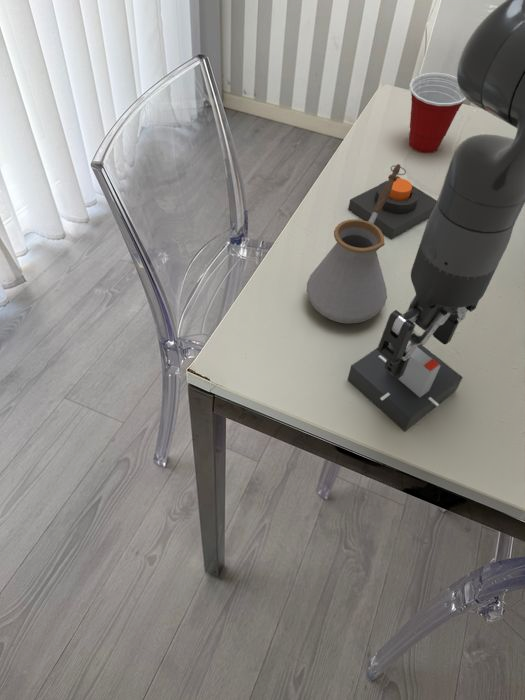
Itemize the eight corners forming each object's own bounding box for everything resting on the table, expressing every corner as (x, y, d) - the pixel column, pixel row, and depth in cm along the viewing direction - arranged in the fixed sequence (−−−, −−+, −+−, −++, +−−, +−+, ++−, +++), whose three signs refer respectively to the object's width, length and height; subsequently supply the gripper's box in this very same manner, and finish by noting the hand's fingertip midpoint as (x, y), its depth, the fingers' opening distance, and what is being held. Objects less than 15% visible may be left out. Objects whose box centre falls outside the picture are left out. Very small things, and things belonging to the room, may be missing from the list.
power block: (394, 186, 103) (399, 166, 100) (437, 213, 98) (444, 194, 95) (347, 210, 98) (351, 190, 94) (390, 240, 93) (396, 220, 90)
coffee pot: (366, 345, 78) (390, 262, 66) (291, 315, 81) (301, 230, 69) (413, 256, 90) (440, 173, 79) (346, 233, 93) (363, 150, 82)
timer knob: (386, 369, 71) (395, 342, 67) (396, 362, 72) (405, 335, 68) (419, 398, 69) (431, 371, 65) (429, 390, 70) (441, 364, 66)
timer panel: (398, 344, 78) (403, 329, 76) (461, 395, 73) (469, 380, 71) (342, 382, 74) (346, 367, 71) (405, 440, 68) (411, 426, 66)
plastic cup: (386, 148, 111) (400, 87, 102) (409, 126, 117) (425, 66, 108) (437, 167, 107) (456, 106, 98) (459, 144, 113) (479, 84, 104)
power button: (396, 184, 97) (399, 175, 95) (414, 195, 95) (417, 186, 94) (380, 192, 95) (382, 183, 94) (398, 203, 93) (401, 194, 92)
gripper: (444, 301, 49) (401, 407, 62) (536, 240, 56) (479, 347, 68) (381, 256, 53) (352, 364, 65) (474, 203, 59) (431, 310, 72)
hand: (417, 355), depth 67 cm, fingers open, 8 cm apart
